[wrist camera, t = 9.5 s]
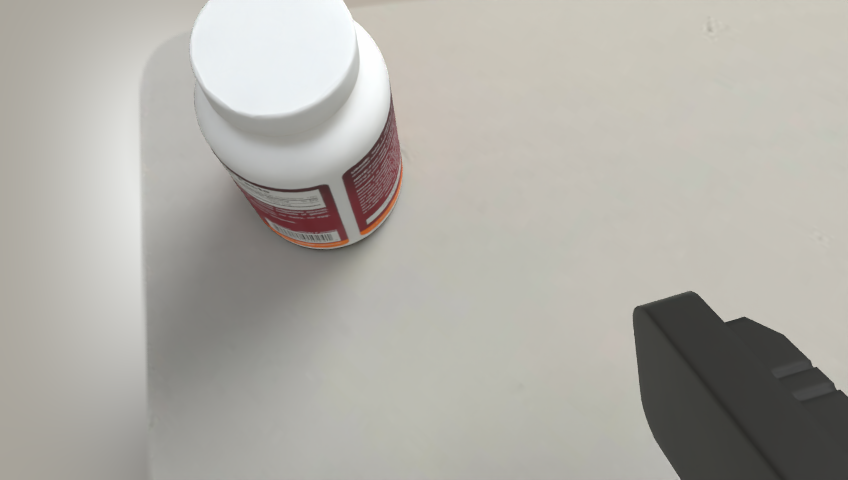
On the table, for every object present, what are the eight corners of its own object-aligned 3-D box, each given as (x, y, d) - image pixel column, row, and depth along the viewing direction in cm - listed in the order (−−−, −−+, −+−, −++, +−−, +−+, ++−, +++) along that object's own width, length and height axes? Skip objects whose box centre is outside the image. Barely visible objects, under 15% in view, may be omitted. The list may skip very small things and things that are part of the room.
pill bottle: (360, 86, 34) (325, -90, 23) (430, 208, 32) (427, 78, 22) (226, 152, 33) (127, 1, 23) (291, 281, 32) (217, 183, 21)
